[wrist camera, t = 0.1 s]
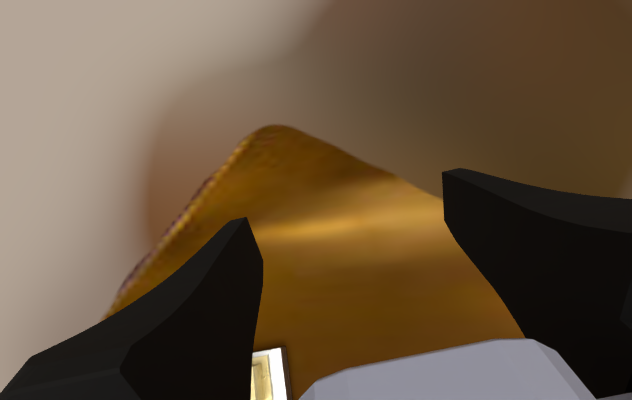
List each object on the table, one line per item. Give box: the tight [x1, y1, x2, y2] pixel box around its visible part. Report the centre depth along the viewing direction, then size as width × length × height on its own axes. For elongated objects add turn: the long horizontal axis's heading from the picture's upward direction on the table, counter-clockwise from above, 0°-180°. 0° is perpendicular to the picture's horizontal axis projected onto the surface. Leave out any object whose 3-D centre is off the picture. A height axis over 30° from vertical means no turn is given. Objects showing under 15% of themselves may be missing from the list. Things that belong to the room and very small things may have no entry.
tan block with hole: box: [251, 355, 273, 400], centre depth 36 cm, size 5×5×7 cm
